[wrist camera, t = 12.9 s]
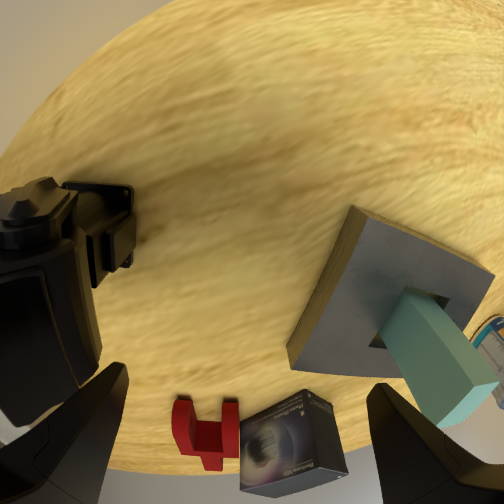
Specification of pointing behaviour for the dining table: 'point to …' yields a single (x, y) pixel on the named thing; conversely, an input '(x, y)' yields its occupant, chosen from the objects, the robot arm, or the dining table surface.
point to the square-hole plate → (378, 295)
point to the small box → (290, 447)
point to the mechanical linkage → (206, 434)
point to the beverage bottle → (493, 351)
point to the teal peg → (436, 359)
